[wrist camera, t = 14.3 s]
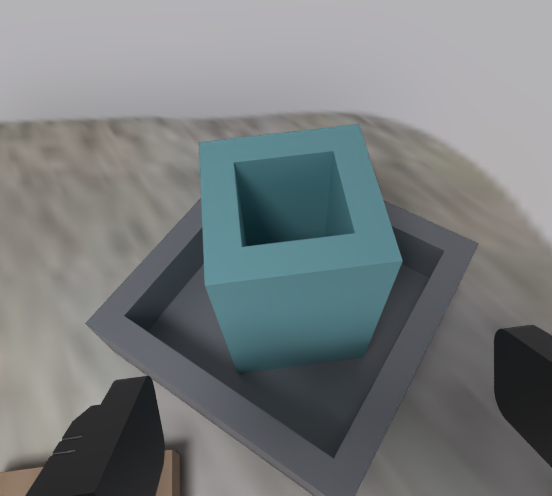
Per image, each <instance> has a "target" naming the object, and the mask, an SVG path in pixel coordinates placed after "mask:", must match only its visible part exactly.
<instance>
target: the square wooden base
mask: <svg viewBox="0 0 552 496" xmlns="http://www.w3.org/2000/svg"><path fill="white" fill-rule="evenodd" d="M42 469H43V467H38V468H31V469H24V470H16V471H9V472H1V473H0V496H25V495H26V494H27V492H28V491H29V489H30V487H31V486H32V484H33V483H34V481H35V480H36V478H37V476H38V475H39V473H40V472H41V470H42ZM156 496H180V454H178V453H177V452H175V451H174V450H165V456H164V465H163V469H162V473H161V477H160V481H159V485H158V488H157V492H156Z"/></svg>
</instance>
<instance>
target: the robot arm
mask: <svg viewBox="0 0 552 496" xmlns="http://www.w3.org/2000/svg"><path fill="white" fill-rule="evenodd" d="M494 392H495V398H496V402H497V405H498V407H499V410H500V412H501V413H502V415H503V416H504V418H505V419H506V420H507V421H508V422H509V423H510V424H511V425H512V426H513V427H514V428H515V430H516V431H517V432H518V433H519V434H520V435H521V436H522V437H523V438H524V439H525V440H526V441H527V442H528V443H529V444H530V445H531V446H532V447H533V448H534V449H535V450H536V451H537V452H538V454H539V455H540V456H541V457H542V458H543V459H544V460H545V461H546V462H547V463H548V464H549V465H550V466H551V467H552V336H551V335H550V334H548V333H546V332H545V331H543V330H541V329H540V328H538V327H537V326H534V325H526V326H519V327H512V328H504V329H499V330H498V331H497V332H496V334H495V338H494ZM164 456H165V445H164V436H163V430H162V425H161V420H160V415H159V410H158V405H157V400H156V394H155V389H154V385H153V381H152V379H151V377H150V376H143V377H135V378H128V379H120V380H115V381H114V382H113V384H112V386H111V387H110V389H109V391H108V393H107V394H106V396H105V398H104V400H103V401H102V403H101V405H94V406H91V407H89V408H88V409H87V410H86V411H85V412H83V413H82V414H81V415H80V416H79V417H77V418H76V419H75V420H74V421H73V422H72V423H71V425H70V426H69V428H68V430H67V431H66V433H65V434H64V436H63V437H62V441H61V442H59V444H58V445H57V447H56V448H55V450H54V451H53V456H50V458H49V459H48V461H47V462H46V464H45V466H44V467H43V469H42V470H41V472H40V473H39V475H38V476H37V478H36V480H35V481H34V483H33V484H32V486H31V487H30V489H29V491H28V492H27V494H26V495H25V496H156V492H157V488H158V485H159V481H160V477H161V473H162V469H163V465H164Z"/></svg>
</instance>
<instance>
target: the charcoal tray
mask: <svg viewBox="0 0 552 496" xmlns="http://www.w3.org/2000/svg"><path fill="white" fill-rule="evenodd" d="M384 204H385V207H386V210H387V214H388V217H389V220H390V223H391V226H392V229H393V232H394V235H395V239H396V242H397V245H398V248H399V251H400V254H401V257H402V260H403V261H402V264H401V266H400V269H399V271H398V274H397V276H396V279H395V281H394V284H393V286H392V289H391V291H390V293H389V296H388V298H387V301H386V303H385V306H384V308H383V311H382V313H381V316H380V318H379V321H378V323H377V326H376V328H375V330H374V333H373V335H372V338H371V340H370V343H369V345H368V348H367V350H366V353H365V355H364V357H362V358H354V359H346V360H339V361H331V362H324V363H316V364H309V365H301V366H293V367H286V368H278V369H271V370H263V371H256V372H248V373H240V374H238V373H237V371H236V368H235V365H234V363H233V360H232V357H231V355H230V352H229V349H228V347H227V344H226V341H225V338H224V336H223V333H222V330H221V328H220V325H219V322H218V320H217V317H216V314H215V312H214V309H213V306H212V304H211V301H210V298H209V296H208V293H207V290H206V287H205V277H204V253H203V228H202V204H201V199H200V200H199V201H198V202H197V203H196V204H195V205H194V206H193V207H192V208H191V210H190V211H189V212H188V213H187V214H186V215H185V216H184V217H183V218H182V219H181V220H180V221H179V223H178V224H177V225H176V226H175V227H174V228H173V229H172V230H171V231H170V232H169V233H168V234H167V236H166V237H165V238H164V239H163V240H162V241H161V242H160V243H159V244H158V245H157V246H156V247H155V249H154V250H153V251H152V252H151V253H150V254H149V255H148V256H147V257H146V258H145V259H144V260H143V262H142V263H141V264H140V265H139V266H138V267H137V268H136V269H135V270H134V271H133V272H132V273H131V275H130V276H129V277H128V278H127V279H126V280H125V281H124V282H123V283H122V284H121V285H120V286H119V288H118V289H117V290H116V291H115V292H114V293H113V294H112V295H111V296H110V297H109V298H108V299H107V301H106V302H105V303H104V304H103V305H102V306H101V307H100V308H99V309H98V310H97V311H96V312H95V314H94V315H93V316H92V317H91V318H90V319H89V320H88V321H87V322H86V323H85V324H86V325H87V326H88V327H89V328H90V329H91V330H92V331H93V332H94V333H95V334H96V335H97V336H98V337H99V338H100V339H102V340H103V341H104V342H105V343H106V344H107V345H108V346H109V347H110V348H111V349H112V350H113V351H114V352H116V353H117V354H118V355H120V356H121V357H123V358H124V359H125V360H127V361H128V362H129V363H131V364H132V365H134V366H135V367H136V368H138V369H139V370H141V371H142V372H143V373H145V374H146V375H147V376H150V377H151V378H152V379H153V380H154V381H156V382H157V383H159V384H160V385H161V386H163V387H164V388H165V389H167V390H168V391H170V392H171V393H172V394H174V395H175V396H177V397H178V398H179V399H181V400H182V401H183V402H185V403H186V404H188V405H189V406H190V407H192V408H193V409H195V410H196V411H197V412H199V413H200V414H201V415H203V416H204V417H206V418H207V419H208V420H210V421H211V422H213V423H214V424H215V425H217V426H218V427H219V428H221V429H222V430H224V431H225V432H226V433H228V434H229V435H231V436H232V437H233V438H235V439H236V440H237V441H239V442H240V443H242V444H243V445H244V446H246V447H247V448H248V449H250V450H251V451H253V452H254V453H255V454H257V455H258V456H260V457H261V458H262V459H264V460H265V461H266V462H268V463H269V464H271V465H272V466H273V467H275V468H276V469H278V470H279V471H280V472H282V473H283V474H284V475H286V476H287V477H289V478H290V479H291V480H293V481H294V482H296V483H297V484H298V485H300V486H301V487H302V488H304V489H305V490H307V491H308V492H309V493H311V494H312V495H314V496H355V494H356V492H357V490H358V488H359V486H360V484H361V482H362V480H363V478H364V476H365V474H366V472H367V470H368V468H369V466H370V464H371V462H372V460H373V458H374V456H375V453H376V451H377V449H378V447H379V445H380V443H381V441H382V439H383V437H384V435H385V433H386V431H387V429H388V427H389V425H390V423H391V421H392V419H393V417H394V415H395V413H396V411H397V409H398V407H399V405H400V403H401V401H402V399H403V397H404V394H405V392H406V390H407V388H408V386H409V384H410V382H411V380H412V378H413V376H414V374H415V372H416V370H417V368H418V366H419V364H420V362H421V360H422V358H423V356H424V354H425V352H426V350H427V348H428V346H429V344H430V342H431V340H432V338H433V335H434V333H435V331H436V329H437V327H438V325H439V323H440V321H441V319H442V317H443V315H444V313H445V311H446V309H447V307H448V305H449V303H450V301H451V299H452V297H453V295H454V293H455V291H456V289H457V287H458V285H459V283H460V281H461V279H462V276H463V274H464V272H465V270H466V268H467V266H468V264H469V262H470V260H471V258H472V256H473V254H474V252H475V250H476V248H477V246H478V243H476V242H474V241H471V240H469V239H467V238H465V237H463V236H460V235H458V234H456V233H454V232H452V231H449V230H447V229H445V228H443V227H441V226H438V225H436V224H434V223H432V222H430V221H427V220H425V219H423V218H421V217H418V216H416V215H414V214H412V213H410V212H407V211H405V210H403V209H401V208H399V207H396V206H394V205H392V204H390V203H388V202H385V201H384Z"/></svg>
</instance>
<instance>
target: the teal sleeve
mask: <svg viewBox="0 0 552 496" xmlns="http://www.w3.org/2000/svg"><path fill="white" fill-rule="evenodd" d="M199 155H200V179H201V204H202V228H203V253H204V277H205V287H206V290H207V293H208V296H209V298H210V301H211V304H212V306H213V309H214V312H215V314H216V317H217V320H218V322H219V325H220V328H221V330H222V333H223V336H224V338H225V341H226V344H227V347H228V349H229V352H230V355H231V357H232V360H233V363H234V365H235V368H236V371H237V373H238V374H240V373H248V372H256V371H263V370H271V369H278V368H286V367H293V366H301V365H309V364H316V363H324V362H331V361H339V360H346V359H354V358H362V357H364V355H365V353H366V350H367V348H368V345H369V343H370V340H371V338H372V335H373V333H374V330H375V328H376V326H377V323H378V321H379V318H380V316H381V313H382V311H383V308H384V306H385V303H386V301H387V298H388V296H389V293H390V291H391V289H392V286H393V284H394V281H395V279H396V276H397V274H398V271H399V269H400V266H401V264H402V261H403V260H402V257H401V254H400V251H399V248H398V245H397V242H396V239H395V235H394V232H393V229H392V226H391V223H390V220H389V217H388V214H387V210H386V207H385V204H384V201H383V198H382V195H381V192H380V188H379V185H378V182H377V179H376V176H375V173H374V170H373V167H372V163H371V160H370V157H369V154H368V151H367V148H366V145H365V142H364V138H363V135H362V132H361V129H360V126H359V124H356V125H347V126H338V127H329V128H321V129H312V130H303V131H294V132H285V133H277V134H268V135H259V136H250V137H241V138H233V139H224V140H215V141H206V142H199Z"/></svg>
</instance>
